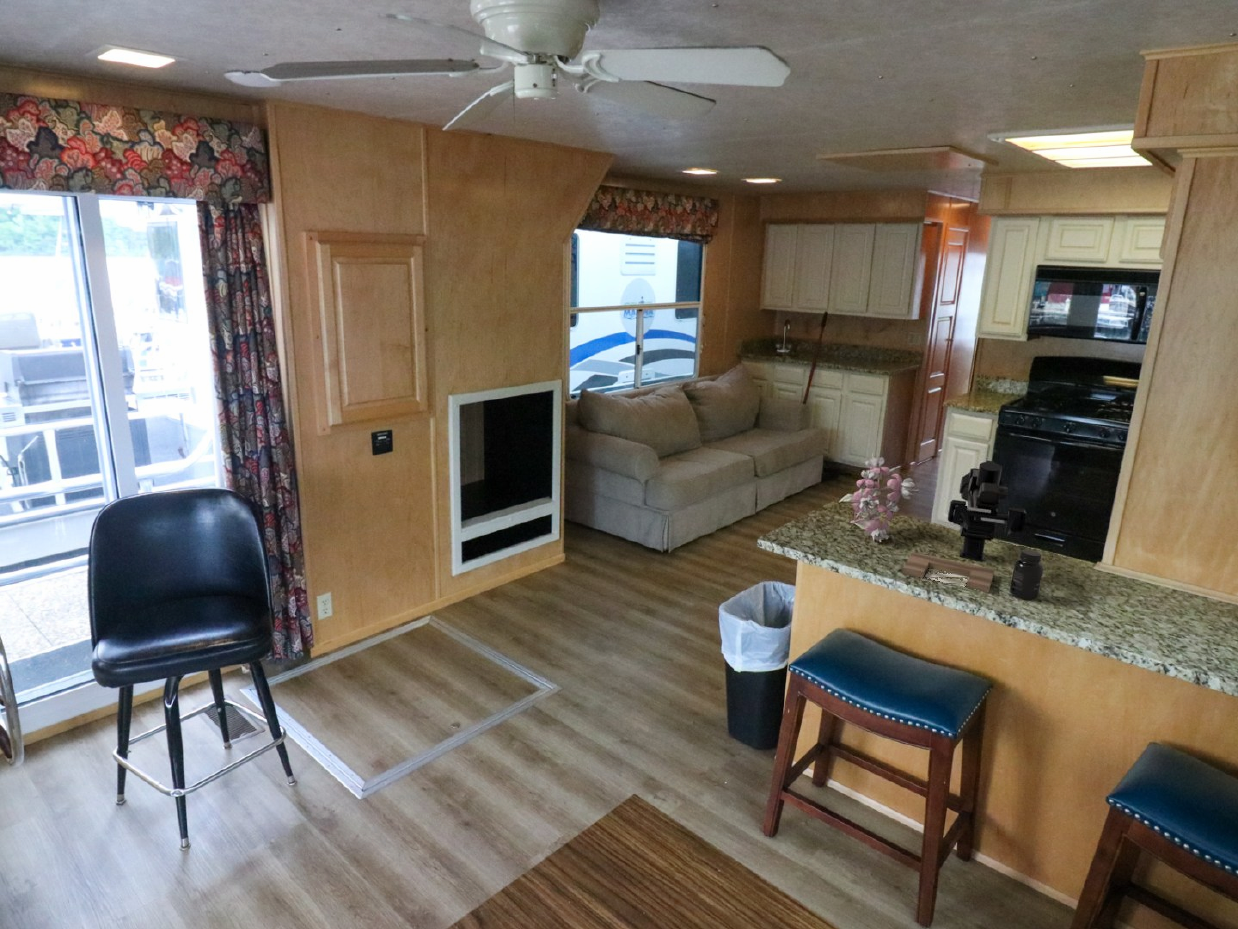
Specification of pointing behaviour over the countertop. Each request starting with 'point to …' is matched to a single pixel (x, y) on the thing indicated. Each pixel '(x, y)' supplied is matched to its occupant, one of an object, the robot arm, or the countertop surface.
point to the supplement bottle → (1027, 575)
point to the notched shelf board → (977, 575)
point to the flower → (868, 499)
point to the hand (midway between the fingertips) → (987, 531)
